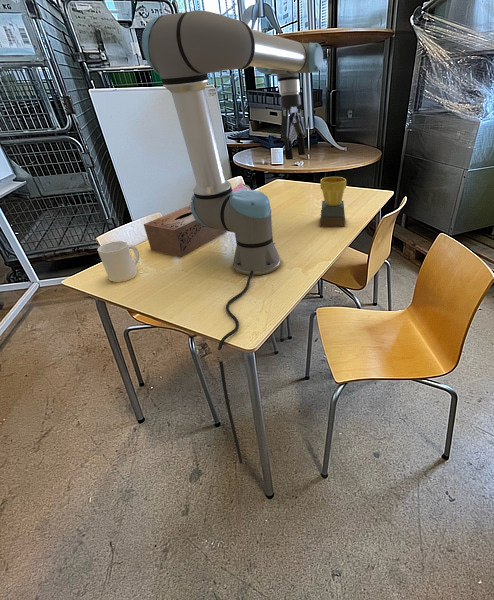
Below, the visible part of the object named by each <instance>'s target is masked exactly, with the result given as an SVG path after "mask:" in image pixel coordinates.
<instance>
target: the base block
mask: <svg viewBox="0 0 494 600" xmlns="http://www.w3.org/2000/svg"><path fill="white" fill-rule="evenodd" d="M319 217H320V218H319V219H320V220H319V221H320V226H319V227H320V228H324V227H326V228H329V227H331V228H332V227H333V228H335V227H336V228H337V227H338V228H341V227H342V228H344V227H345V226H346V213H345V212H344V217H322V209H320V216H319Z"/></svg>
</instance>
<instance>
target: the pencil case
mask: <svg viewBox="0 0 494 600" xmlns="http://www.w3.org/2000/svg"><path fill="white" fill-rule="evenodd" d="M237 190H252V189H251V187H250V186H249V185H248V184H245V183H241V182H240V183H239V184H238V185H236V187H234V188H232V192H234V191H237Z"/></svg>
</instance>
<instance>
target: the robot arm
mask: <svg viewBox="0 0 494 600" xmlns="http://www.w3.org/2000/svg"><path fill="white" fill-rule="evenodd" d="M141 49H142V53H143V56H144V58H145V60H146V63H147V65H148V66H149V67H150V68H151V69H152V70H153V72H155V73H156V74H157V75H159V76H160V79H161V83H162V86H163V87H164V88H165V89H166V90H168V91H169V92H170V94H171V97H172V100H173V103H174V107H175V111H176V114H177V118H178V122H179V125H180V129H181V132H182V136H183V141H184V143H185V147H186V151H187V154H188V158H189V162H190V166H191V169H192V172H193V176H194V180H195V183H196V184H195V186H194V188H193V189H192V190H193V195H192V196H191V199H190V200H191V201H190V204H189V205H190V207H191V212H192V215H193V217H194V218H195V220H196V221H197V222H198V223H200V224H201V225H203V226H206V227H209V228H212V229H219V230H224V231H226V232H229V233H234V236H235V243H236V247H235V252H234V255H233V268H234V270H235V271H236V272H237V273H239V274H241V275H245V276H248V278H247V281H246V284H245V287H244V288H243V290H242V291H240V292H239V293H238V294H236V295H234V296H233V297H232V298H231V299H229V300H228V302H227V303H226V305H225V311H226V313H227V314H228V316H229V317H230V318H231V319H232V320H233V321H234V323H235V326H234V329H232V330H230V331H229V332H228V333H226V334H224V336H223V337H222V338H221V339H220V341H219V343H218V346H217V351H221V350H222V348H223V345H224V343H225V341H226V340H227V339H228V338H229V337H231V336H232V335H234V334H235V333H237V332H238V330H239V328H240V321H239V319H238V318H237V317H236V316H235V315H234V313H232V311H231V310H230V305H231V304H232V303H233V302H234V301H235V300H237V299H239V298H240V297H241V296H243V295H244V294H245V293H246V292H247V290H249V286H250V282H251V281H252V280H251V279H252V276H263V275H267V274H271V273H272V272H275V271H276V270H278V269H279V268H280V266H281V258H280V254H279V252H278V250H277V247H276V245H275V242H274V236H273V223H272V208H271V203H270V199H269V197H268V195H267V194H265V193H264V192H262V191H259V190H255V189H251V190H237V191H234V192H232V189H233V187H232V184H231V182H230V181H228V180H227V179H226V178H225V174H224V170H223V169H224V168H223V165H222V160H221V156H220V152H219V146H218V143H217V138H216V134H215V129H214V124H213V120H212V116H211V110H210V106H209V102H208V98H207V93H206V86H207V85H208V83H209V81H210V78H209V75H208V74H213V73H216V72H223V71H230V70H241V71H243V70H245V69H247V68H249V67H254V68H255V70H256V71H257V72H259V73H260V74H263V75H266V76H267V75H275V76H276V75H277V81H278V82H277V83H278V85H277V87H278V90H279V95H280V97H279V99H280V100H279V103H280V108H282V110H281V111H280V112H281V123H280V141H281V142H283V146H284V147H283V148H284V155H285V156H284V157H285V160H286V161H287V160H294V155H293V154H294V153H293V144H292V140H291V135H292V130H293V129H294V130H295V133H296V136H297V137H296V142H297V151H298V156H306V146H305V138H306V137H307V133H306V128H305V124H304V120H303V116H302V109H301V108H299V109H298V107H301V105H302V101H301V95H300V93H301V89H300V88H301V87H300V86H301V85H300V79H299V74H312V73H318V72H319V71H321V70H322V68H323V63H324V51H323V47H322V46H321V44H320V43H318V42H311V41H309V42H300V41H296V40H294V39H293V40H292V39H288V38H285V37H281V36H278V35H275V34H274V35H273V34H271V33H266V32H263V31H260V30H255V29H252V28H251V27H250V25H248V23H246V22H245V21H243V20H239V19H236V18H233V17H230V16H227V15H223V14H219V13H216V12H212V11H208V10H197V9H196V10H195V9H194V10H190V11H184V12H177V13H176V12H175V13H169V14H162V15H159V16H157V17H153V18H152V19H149V21H148V22H147V23H146V24H145V26H144V29H143V31H142V36H141ZM218 364H219V369H220V378H221V383H222V389H223V395H224V400H225V406H226V410H227V414H228V419H229V424H230V427H231V431H232V435H233V439H234V444H235V449H236V452H237V456H238V461H239V464H243V458H242V454H241V448H240V444H239V440H238V436H237V431H236V427H235V422H234V419H233V414H232V410H231V409H232V408H231V404H230V399H229V394H228V388H227V382H226V376H225V375H226V374H225V368H224V367H225V366H224V362H223V360H222V361H221V360H219V361H218Z"/></svg>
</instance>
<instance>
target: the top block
mask: <svg viewBox="0 0 494 600" xmlns="http://www.w3.org/2000/svg"><path fill="white" fill-rule="evenodd" d="M321 210H322V217H344V213H345V202H344V200H342V202H341V204H340V205H338V206H328V205H326V204H325V201H324V200H322V201H321Z"/></svg>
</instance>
